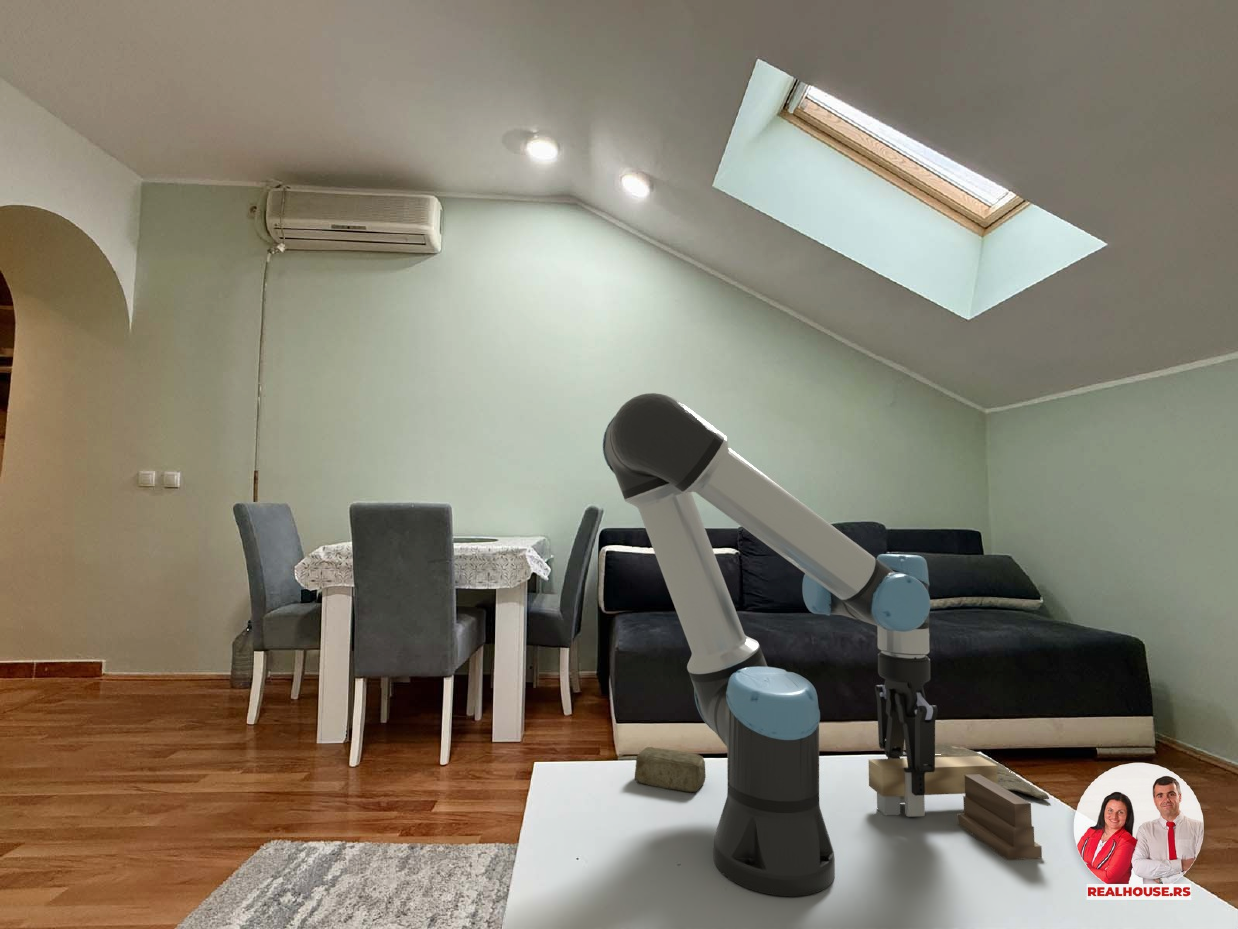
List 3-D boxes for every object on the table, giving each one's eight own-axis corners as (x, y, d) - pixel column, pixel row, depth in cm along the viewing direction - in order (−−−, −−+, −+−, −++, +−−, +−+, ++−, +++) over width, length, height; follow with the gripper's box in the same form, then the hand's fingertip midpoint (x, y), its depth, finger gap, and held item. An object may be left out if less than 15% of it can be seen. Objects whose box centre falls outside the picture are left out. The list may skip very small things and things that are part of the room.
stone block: (699, 796, 102) (698, 764, 103) (631, 785, 107) (631, 754, 107) (707, 783, 108) (707, 752, 108) (642, 773, 112) (643, 743, 112)
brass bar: (882, 796, 96) (882, 769, 96) (868, 786, 100) (868, 759, 100) (998, 792, 98) (997, 765, 99) (980, 782, 102) (979, 756, 103)
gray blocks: (885, 815, 97) (885, 794, 97) (877, 808, 99) (876, 788, 99) (990, 811, 99) (989, 790, 99) (980, 804, 101) (979, 784, 101)
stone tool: (1054, 806, 102) (967, 751, 127) (1053, 787, 102) (966, 736, 127) (986, 806, 102) (912, 751, 127) (985, 787, 102) (911, 736, 127)
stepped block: (1007, 860, 84) (1005, 804, 85) (957, 824, 94) (956, 775, 95) (1041, 858, 85) (1039, 803, 85) (989, 823, 95) (987, 774, 95)
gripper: (960, 664, 93) (965, 834, 90) (895, 643, 109) (898, 785, 107) (912, 665, 92) (915, 836, 89) (854, 643, 108) (855, 786, 106)
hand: (906, 808), depth 98 cm, fingers closed on brass bar, 4 cm apart
